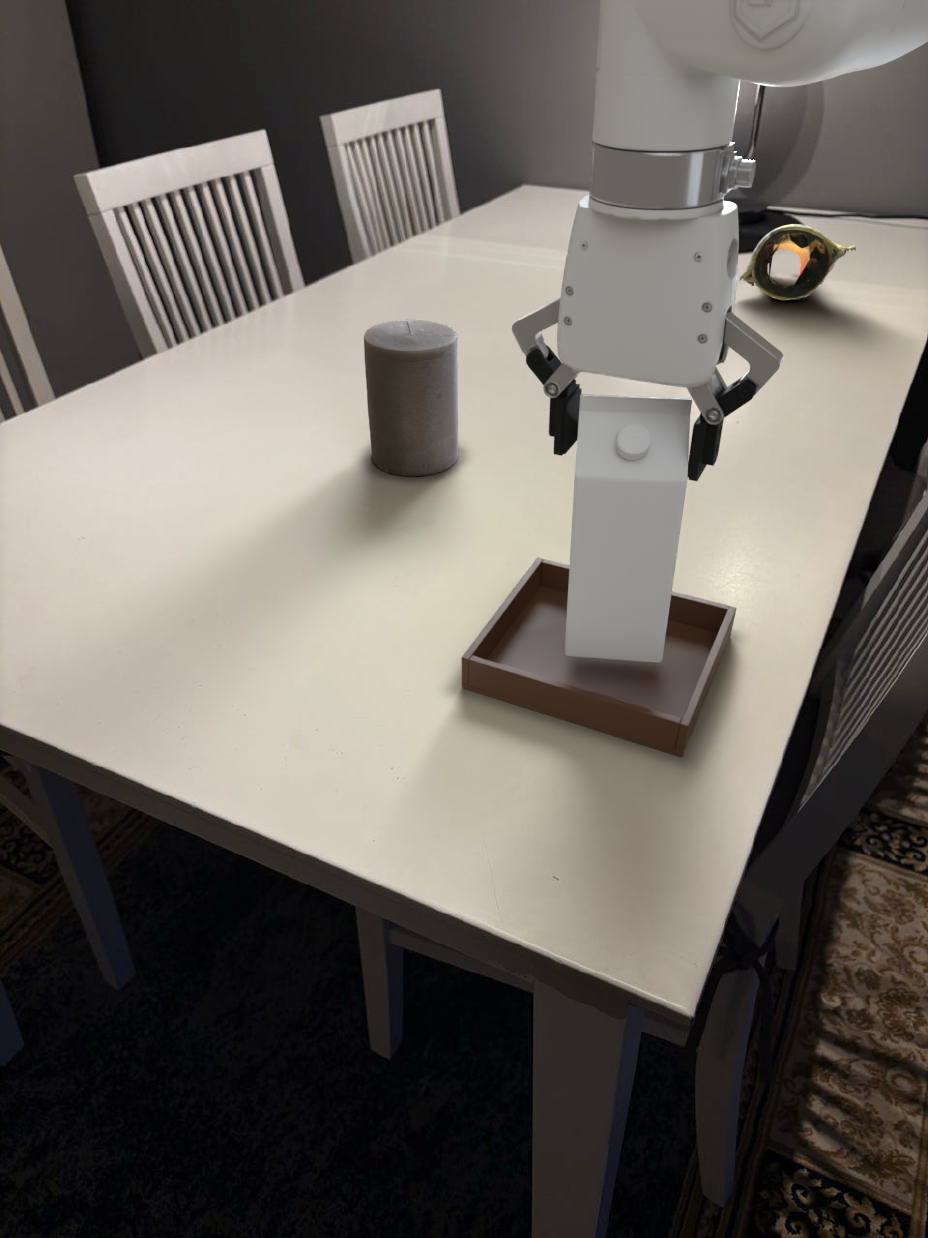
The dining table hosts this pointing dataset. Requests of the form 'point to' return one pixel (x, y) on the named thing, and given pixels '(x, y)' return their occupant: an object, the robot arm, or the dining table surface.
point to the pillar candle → (412, 396)
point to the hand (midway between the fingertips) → (629, 458)
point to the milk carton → (626, 524)
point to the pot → (812, 253)
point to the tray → (598, 664)
